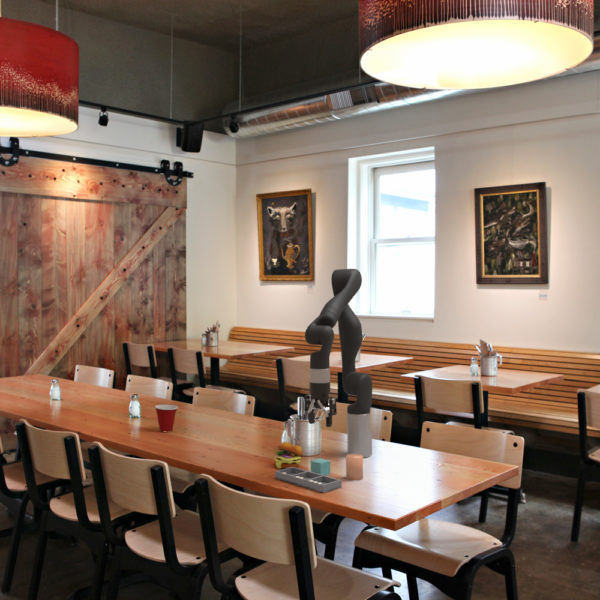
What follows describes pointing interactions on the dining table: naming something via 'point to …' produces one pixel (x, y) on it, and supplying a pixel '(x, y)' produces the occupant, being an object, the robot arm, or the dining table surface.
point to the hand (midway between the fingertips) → (320, 425)
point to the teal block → (320, 466)
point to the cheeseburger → (288, 456)
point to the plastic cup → (166, 416)
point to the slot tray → (308, 479)
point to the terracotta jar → (354, 467)
